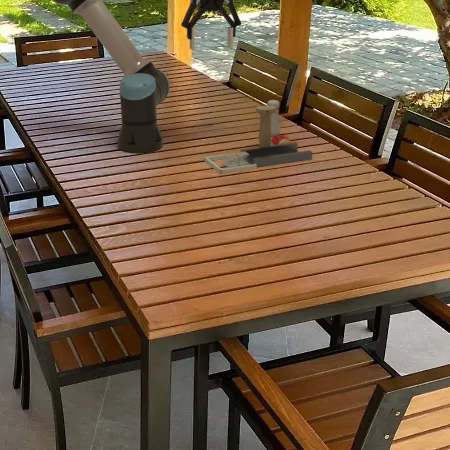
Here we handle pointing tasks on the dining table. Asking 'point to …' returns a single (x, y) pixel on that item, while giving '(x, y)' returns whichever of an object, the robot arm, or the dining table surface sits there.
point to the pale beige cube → (243, 158)
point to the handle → (265, 124)
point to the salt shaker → (274, 118)
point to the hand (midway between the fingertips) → (211, 48)
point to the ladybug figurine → (280, 140)
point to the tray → (226, 170)
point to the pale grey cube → (230, 160)
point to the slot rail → (277, 154)
